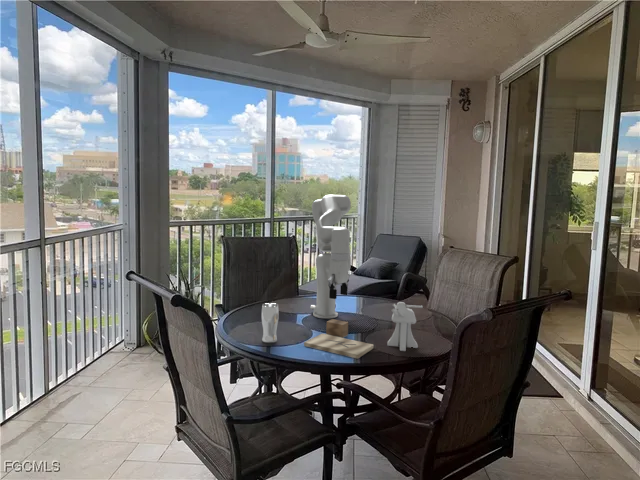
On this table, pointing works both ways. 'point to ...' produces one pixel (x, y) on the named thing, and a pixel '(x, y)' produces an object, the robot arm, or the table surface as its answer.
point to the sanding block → (337, 328)
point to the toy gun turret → (403, 326)
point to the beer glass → (269, 322)
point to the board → (339, 345)
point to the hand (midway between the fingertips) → (338, 296)
